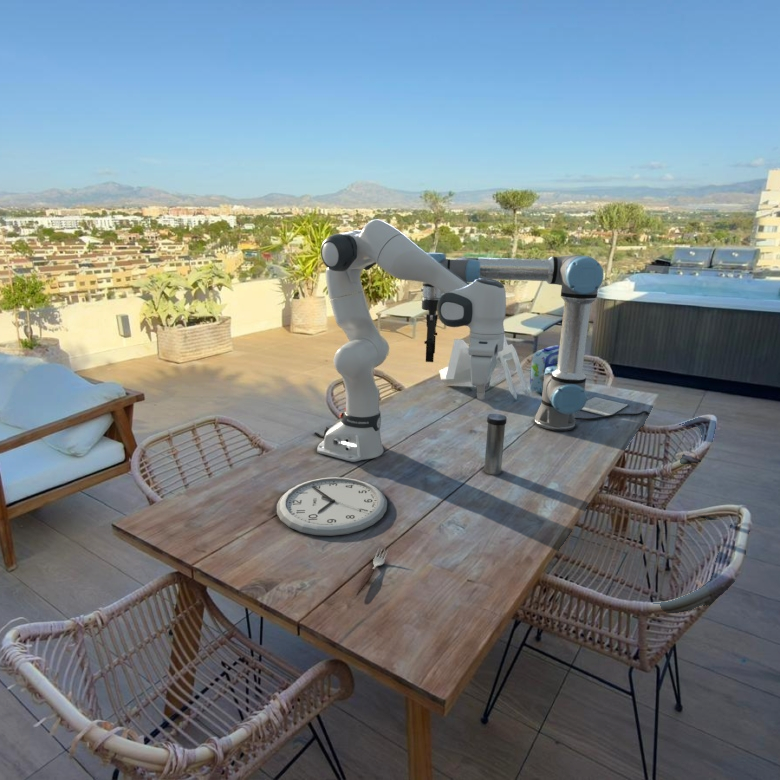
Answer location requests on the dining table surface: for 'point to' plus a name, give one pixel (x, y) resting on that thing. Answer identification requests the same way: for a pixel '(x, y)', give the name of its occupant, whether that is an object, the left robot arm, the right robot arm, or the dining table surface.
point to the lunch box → (542, 366)
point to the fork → (376, 562)
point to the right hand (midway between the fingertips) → (430, 357)
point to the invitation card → (603, 406)
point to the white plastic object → (462, 365)
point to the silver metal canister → (494, 449)
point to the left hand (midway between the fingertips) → (483, 393)
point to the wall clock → (331, 506)
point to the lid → (496, 419)
